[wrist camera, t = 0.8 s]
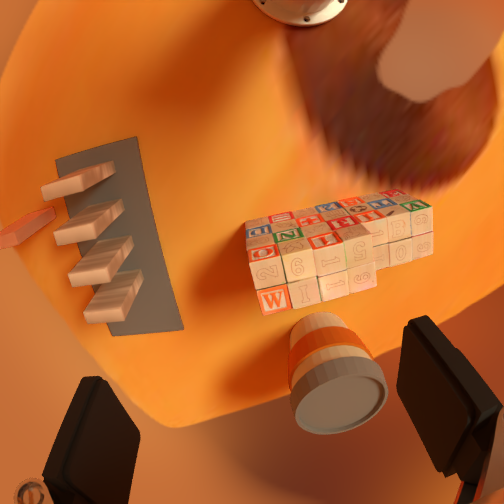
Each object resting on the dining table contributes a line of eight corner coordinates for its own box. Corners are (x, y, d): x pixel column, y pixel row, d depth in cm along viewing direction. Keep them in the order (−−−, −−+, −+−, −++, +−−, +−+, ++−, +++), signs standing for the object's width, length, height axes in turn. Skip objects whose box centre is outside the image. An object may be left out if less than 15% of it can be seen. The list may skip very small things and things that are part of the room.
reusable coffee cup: (365, 303, 47) (405, 369, 34) (343, 364, 52) (369, 431, 38) (286, 299, 46) (306, 372, 32) (272, 363, 51) (283, 437, 37)
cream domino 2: (88, 205, 38) (53, 232, 29) (121, 198, 38) (91, 223, 29) (91, 217, 39) (57, 246, 30) (124, 210, 39) (95, 238, 30)
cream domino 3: (98, 240, 40) (67, 274, 31) (131, 234, 40) (105, 268, 31) (101, 251, 41) (72, 287, 32) (134, 245, 41) (109, 282, 32)
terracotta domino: (28, 213, 38) (-12, 239, 29) (53, 206, 38) (14, 232, 29) (31, 224, 39) (-8, 251, 30) (56, 217, 39) (18, 244, 30)
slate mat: (56, 159, 36) (55, 159, 36) (136, 136, 36) (135, 136, 36) (113, 334, 47) (112, 336, 47) (183, 328, 47) (183, 329, 47)
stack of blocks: (397, 186, 40) (448, 214, 29) (400, 229, 43) (447, 266, 32) (243, 221, 41) (247, 263, 30) (254, 264, 44) (262, 317, 33)
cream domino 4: (108, 273, 42) (82, 312, 33) (140, 268, 42) (119, 309, 33) (112, 283, 43) (87, 324, 34) (144, 279, 43) (124, 320, 34)
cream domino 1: (79, 169, 36) (40, 187, 27) (113, 160, 36) (78, 175, 27) (82, 181, 37) (44, 201, 28) (116, 172, 37) (82, 191, 28)
